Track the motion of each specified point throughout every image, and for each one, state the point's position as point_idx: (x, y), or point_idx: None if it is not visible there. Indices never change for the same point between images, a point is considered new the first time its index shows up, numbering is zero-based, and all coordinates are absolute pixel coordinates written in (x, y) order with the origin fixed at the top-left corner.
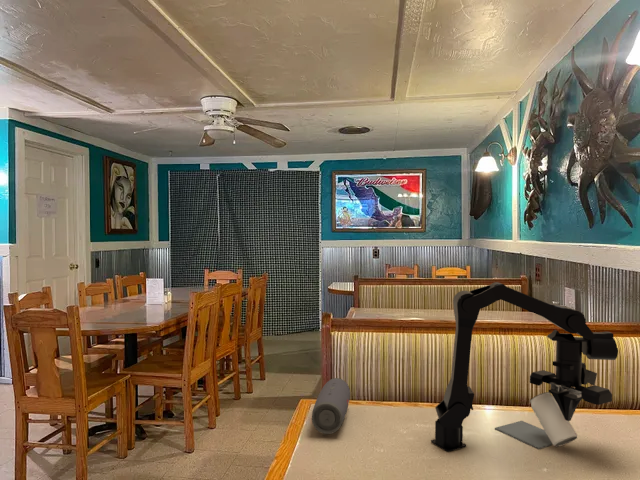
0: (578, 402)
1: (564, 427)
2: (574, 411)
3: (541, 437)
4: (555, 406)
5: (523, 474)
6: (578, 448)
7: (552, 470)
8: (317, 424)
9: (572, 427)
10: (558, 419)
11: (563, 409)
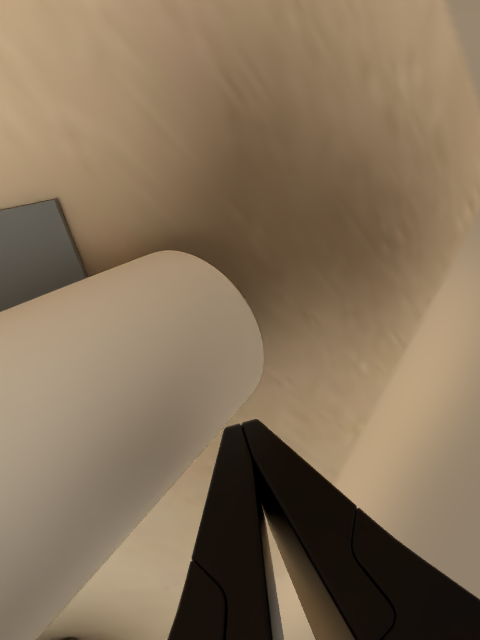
0: (476, 615)
1: (226, 420)
2: (325, 481)
3: None
4: (62, 567)
5: None
6: (184, 213)
7: (317, 465)
8: None
9: (219, 337)
10: (176, 475)
11: (277, 602)
